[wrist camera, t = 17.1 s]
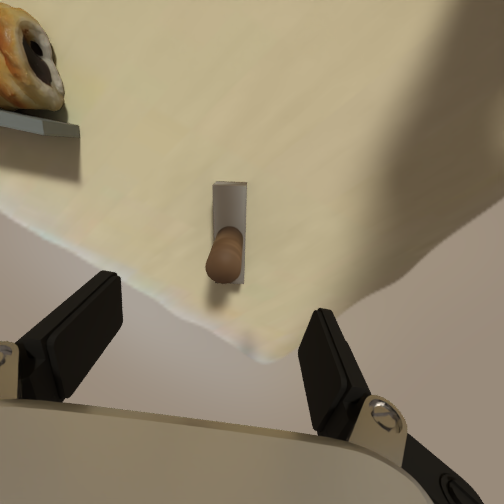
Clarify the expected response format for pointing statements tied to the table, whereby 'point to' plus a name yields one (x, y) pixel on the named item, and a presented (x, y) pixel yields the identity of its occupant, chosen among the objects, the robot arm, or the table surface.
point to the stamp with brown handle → (228, 233)
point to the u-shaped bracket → (37, 124)
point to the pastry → (26, 64)
